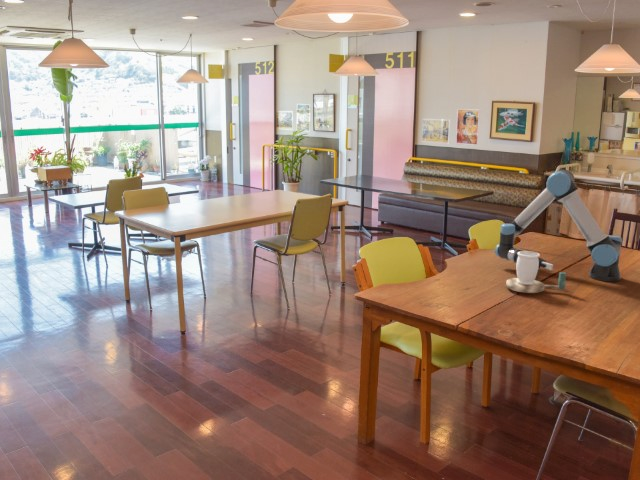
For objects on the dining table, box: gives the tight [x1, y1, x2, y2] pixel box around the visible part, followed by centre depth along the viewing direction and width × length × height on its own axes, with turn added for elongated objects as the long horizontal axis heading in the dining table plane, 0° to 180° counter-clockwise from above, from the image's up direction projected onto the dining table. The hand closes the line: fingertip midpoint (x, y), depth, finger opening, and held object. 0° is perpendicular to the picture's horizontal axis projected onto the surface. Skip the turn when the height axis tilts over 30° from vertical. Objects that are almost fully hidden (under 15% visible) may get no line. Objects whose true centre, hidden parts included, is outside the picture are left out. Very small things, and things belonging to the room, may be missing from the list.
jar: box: [515, 250, 541, 285], centre depth 298 cm, size 11×10×15 cm
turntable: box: [505, 271, 567, 294], centre depth 299 cm, size 27×18×8 cm, turn 81°
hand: (551, 267), depth 306 cm, fingers closed
